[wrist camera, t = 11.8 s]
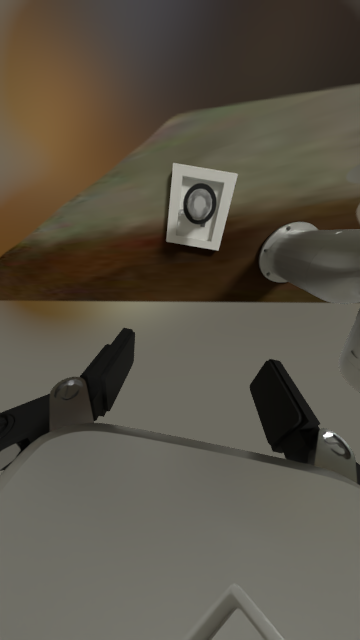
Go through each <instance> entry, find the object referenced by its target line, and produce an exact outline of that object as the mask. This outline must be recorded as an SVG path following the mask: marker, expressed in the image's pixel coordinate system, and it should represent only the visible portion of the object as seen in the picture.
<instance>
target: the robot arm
mask: <svg viewBox="0 0 360 640" xmlns="http://www.w3.org/2000/svg"><path fill="white" fill-rule="evenodd" d="M286 228H287V230H286ZM264 249H265V251H264ZM259 268H260V270H261V272H262V274H263V275H264V276H265V277H266V278H268V279H269V280H271V281H274V282H279V283H282V282H290V283H292V284H294V285H296V286H298V287H299V288H301V289H303V290H305V291H307V292H309V293H311V294H313V295H315V296H316V297H319V298H320V299H323V300H325V301H328V302H332V303H340V304H348V303H357V302H360V229H357V230H318V229H317V228H316V227H315V226H313V225H312V224H309V223H306V222H294V223H290V224H287V225H284V226H282V227H280V228H279V229H277V230H276V231H274V232H273V233H272V234H271V235H270V236H269V237H268V239H267V240H266V241H265V243H264V244H263V246H262V248H261V251H260V254H259ZM267 273H268V274H267ZM134 343H135V332H133V331H132V329H127V328H123V330H122V331H121V332H120V333H119V335H118V336H117V337H116V338H115V340H114V341H113V342H112V344H111V345H109V344H107V345H105V346H104V348H103V349H102V350H101V351H100V353H99V354H98V355H97V356H96V357H95V359H94V360H93V361H92V362H91V364H90V365H89V366H88V367H87V368H86V370H85V371H84V372H83V373H82V375H81V376H80V377H70V378H66V379H64V380H62V381H60V382H59V383H57V384H56V385H55V386H54V387H53V388H52V390H51V392H50V394H48V395H45V396H43V397H40V398H38V399H35V400H32V401H30V402H28V403H25V404H22V405H20V406H17V407H15V408H12V409H9V410H7V411H5V412H2V413H0V471H2V470H4V471H3V473H2V474H1V475H0V640H360V465H359V464H358V463H357V462H356V460H355V456H354V453H353V451H352V450H351V448H350V447H349V446H348V444H347V443H346V442H345V441H344V440H343V439H342V438H341V437H340V436H338V435H337V434H336V433H334V432H333V431H331V430H328V429H325V428H322V429H319V427H318V425H319V424H320V422H319V421H318V419H317V418H316V416H315V415H314V413H313V412H312V410H311V408H310V407H309V405H308V404H307V402H306V401H305V399H304V398H303V396H302V394H301V393H300V392H299V390H298V388H297V387H296V385H295V384H294V382H293V381H292V379H291V377H290V376H289V374H288V373H287V371H286V370H285V368H284V367H283V365H282V364H281V362H280V361H277V360H272V359H270V360H269V361H266V362H265V364H264V365H263V367H262V368H261V369H260V371H259V373H258V374H257V376H256V377H255V379H254V380H253V381H252V383H251V384H250V391H251V394H252V397H253V400H254V403H255V406H256V409H257V411H258V415H259V418H260V421H261V423H262V426H263V429H264V432H265V435H266V438H267V440H268V443H269V444H270V445H271V448H272V450H273V451H274V452H278V453H284V455H285V459H282V458H277V457H273V456H268V455H263V454H259V453H254V452H249V451H245V450H240V449H235V448H230V447H225V446H220V445H215V444H211V443H205V442H201V441H196V440H191V439H186V438H181V437H176V436H171V435H166V434H161V433H156V432H151V431H146V430H141V429H135V428H129V427H124V426H118V425H110V424H102V423H94V421H95V420H97V418H98V416H103V417H104V415H105V413H106V411H110V409H111V407H112V406H113V403H114V401H115V399H116V397H117V395H118V393H119V391H120V389H121V387H122V385H123V383H124V381H125V379H126V377H127V375H128V373H129V371H130V369H131V366H132V364H133V361H134ZM339 369H340V372H341V374H342V376H343V377H344V379H345V380H346V381H347V382H348V383H349V384H350V385H351V386H352V387H353V388H354V389H356V390H357V391H358V392H359V393H360V309H359V311H358V314H357V316H356V320H355V323H354V325H353V327H352V329H351V331H350V333H349V336H348V338H347V340H346V342H345V345H344V347H343V350H342V352H341V355H340V358H339Z"/></svg>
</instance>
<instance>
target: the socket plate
mask: <svg viewBox="0 0 360 640" xmlns="http://www.w3.org/2000/svg"><path fill="white" fill-rule="evenodd" d="M237 175H238V174H236V173H230V172H224V171H218V170H212V169H206V168H200V167H195V166H189V165H183V164H177V163H173V171H172V182H171V193H170V204H169V215H168V227H167V238H166V242H171V243H177V244H183V245H189V246H194V247H200V248H206V249H212V250H219V246H220V242H221V238H222V234H223V231H224V227H225V223H226V219H227V215H228V211H229V207H230V203H231V199H232V195H233V191H234V187H235V183H236V179H237ZM198 183H204V184H207V185H209V186H210V187H211V188H212V189H213V191H214V193H215V195H216V209H215V212H214V214H213V216H212V217H211V219H210V220H209V221H207V222H206V223H204V224H194V223H192V222H190V221H189V220H188V219H187V217H186V216H185V214H182V215H180V214H179V210H180V209H183V201H184V197H185V195H186V193H187V191H188V190H189V189H190V188H191V187H192V186H193V185H195V184H198ZM211 209H212V208H211ZM181 213H183V211H181ZM193 219H195V218H193ZM203 219H205V218H203ZM203 219H201V220H203ZM195 220H196V219H195Z"/></svg>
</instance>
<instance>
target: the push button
mask: <svg viewBox="0 0 360 640" xmlns="http://www.w3.org/2000/svg"><path fill="white" fill-rule="evenodd" d="M211 208H212V209H211ZM215 209H216V195H215V193H214V191H213V189H212V188H211V187H210V186H209V185H207V184H204V183H198V184H195V185H193V186H192V187H191V188H190V189H189V190H188V191H187V193H186V195H185V197H184V201H183V209H180V210H179V214H180V215H182V214H185V216H186V217H187V219H188V220H189V221H190V222H192V223H194V224H204V223H206V222H207V221H209V220H210V219H211V217H212V216H213V214H214V212H215ZM181 211H183V213H181ZM193 218H195V219H196V220H195V219H193ZM203 218H205V219H203ZM201 219H203V220H201Z"/></svg>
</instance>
